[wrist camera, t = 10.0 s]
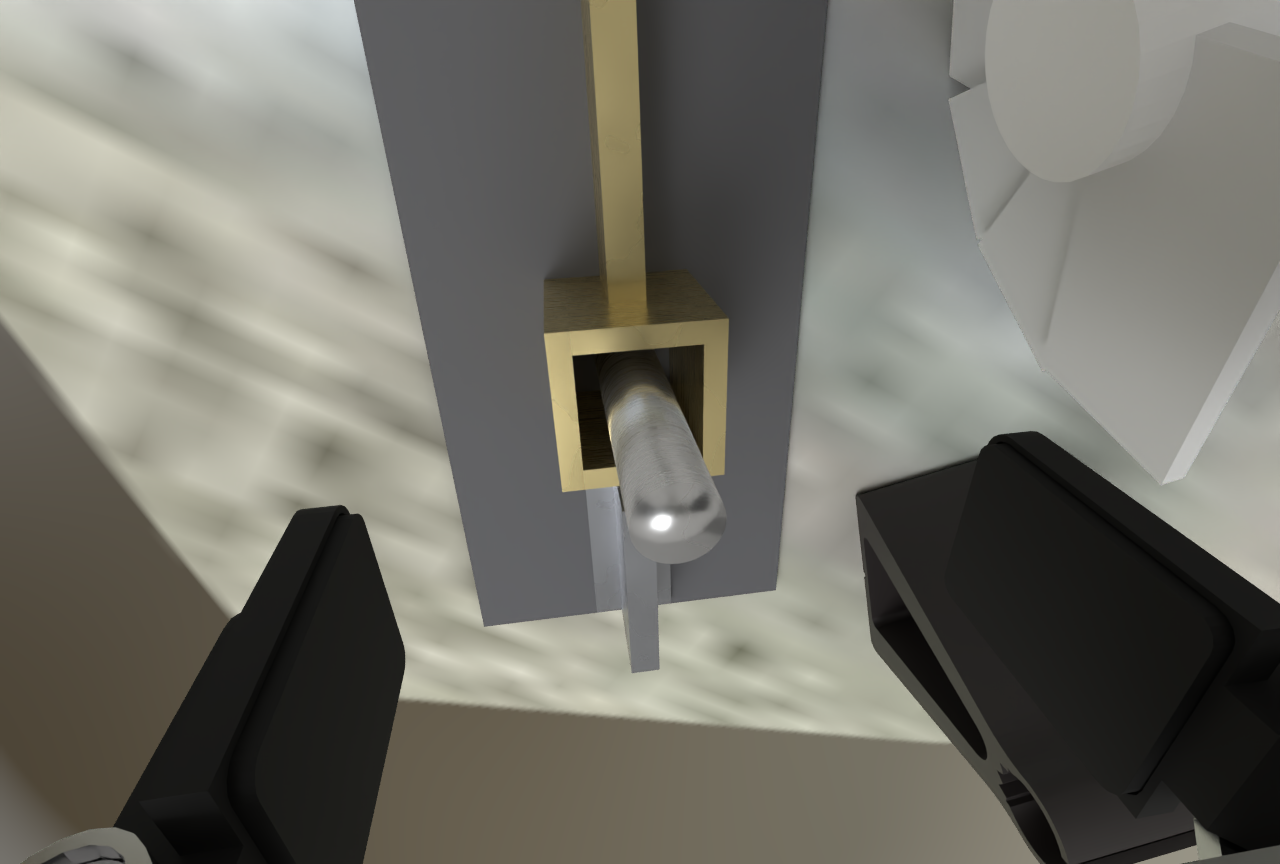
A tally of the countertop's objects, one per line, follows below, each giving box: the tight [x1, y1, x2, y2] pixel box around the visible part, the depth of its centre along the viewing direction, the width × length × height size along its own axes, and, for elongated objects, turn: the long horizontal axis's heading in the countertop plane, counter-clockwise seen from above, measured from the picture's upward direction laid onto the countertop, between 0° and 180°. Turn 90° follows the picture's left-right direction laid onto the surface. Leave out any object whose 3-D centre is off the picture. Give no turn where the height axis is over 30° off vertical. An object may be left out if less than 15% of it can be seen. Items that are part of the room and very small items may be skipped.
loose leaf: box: [544, 0, 729, 492], centre depth 16 cm, size 12×4×5 cm, turn 2°
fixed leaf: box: [586, 349, 727, 673], centre depth 18 cm, size 12×3×10 cm, turn 2°
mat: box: [354, 0, 828, 627], centre depth 21 cm, size 21×12×1 cm, turn 2°
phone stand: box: [856, 460, 1197, 864], centre depth 22 cm, size 9×6×12 cm, turn 14°
